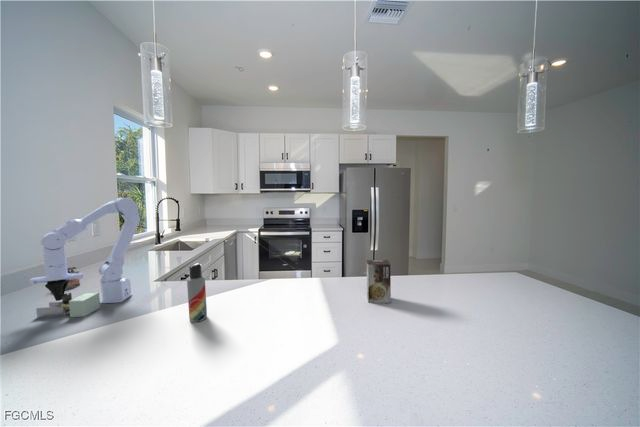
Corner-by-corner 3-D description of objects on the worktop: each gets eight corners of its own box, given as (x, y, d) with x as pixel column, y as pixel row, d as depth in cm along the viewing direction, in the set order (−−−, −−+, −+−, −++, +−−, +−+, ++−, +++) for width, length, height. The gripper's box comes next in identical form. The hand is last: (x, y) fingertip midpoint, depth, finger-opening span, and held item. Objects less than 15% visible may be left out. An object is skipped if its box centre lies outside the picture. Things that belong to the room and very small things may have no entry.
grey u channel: (76, 309, 99) (75, 300, 99) (64, 316, 94) (63, 307, 93) (51, 310, 98) (50, 302, 98) (37, 317, 93) (36, 308, 92)
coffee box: (388, 296, 107) (388, 259, 106) (390, 303, 101) (391, 264, 99) (366, 296, 108) (366, 259, 106) (367, 302, 101) (367, 263, 100)
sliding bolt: (93, 307, 98) (91, 291, 98) (86, 310, 95) (85, 294, 95) (68, 308, 98) (66, 292, 97) (60, 312, 94) (58, 296, 94)
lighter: (57, 290, 118) (55, 270, 117) (56, 289, 120) (54, 268, 120) (81, 285, 125) (79, 265, 124) (79, 284, 127) (77, 264, 126)
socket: (100, 307, 101) (99, 292, 100) (85, 316, 93) (83, 300, 93) (86, 307, 100) (85, 293, 100) (70, 317, 93) (68, 301, 92)
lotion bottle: (200, 323, 87) (196, 267, 85) (185, 322, 88) (182, 266, 86) (210, 315, 93) (207, 262, 91) (196, 314, 94) (193, 261, 92)
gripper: (85, 259, 100) (89, 292, 102) (37, 263, 95) (41, 298, 97) (75, 264, 94) (79, 299, 95) (23, 269, 89) (28, 306, 90)
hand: (59, 299), depth 95 cm, fingers closed
